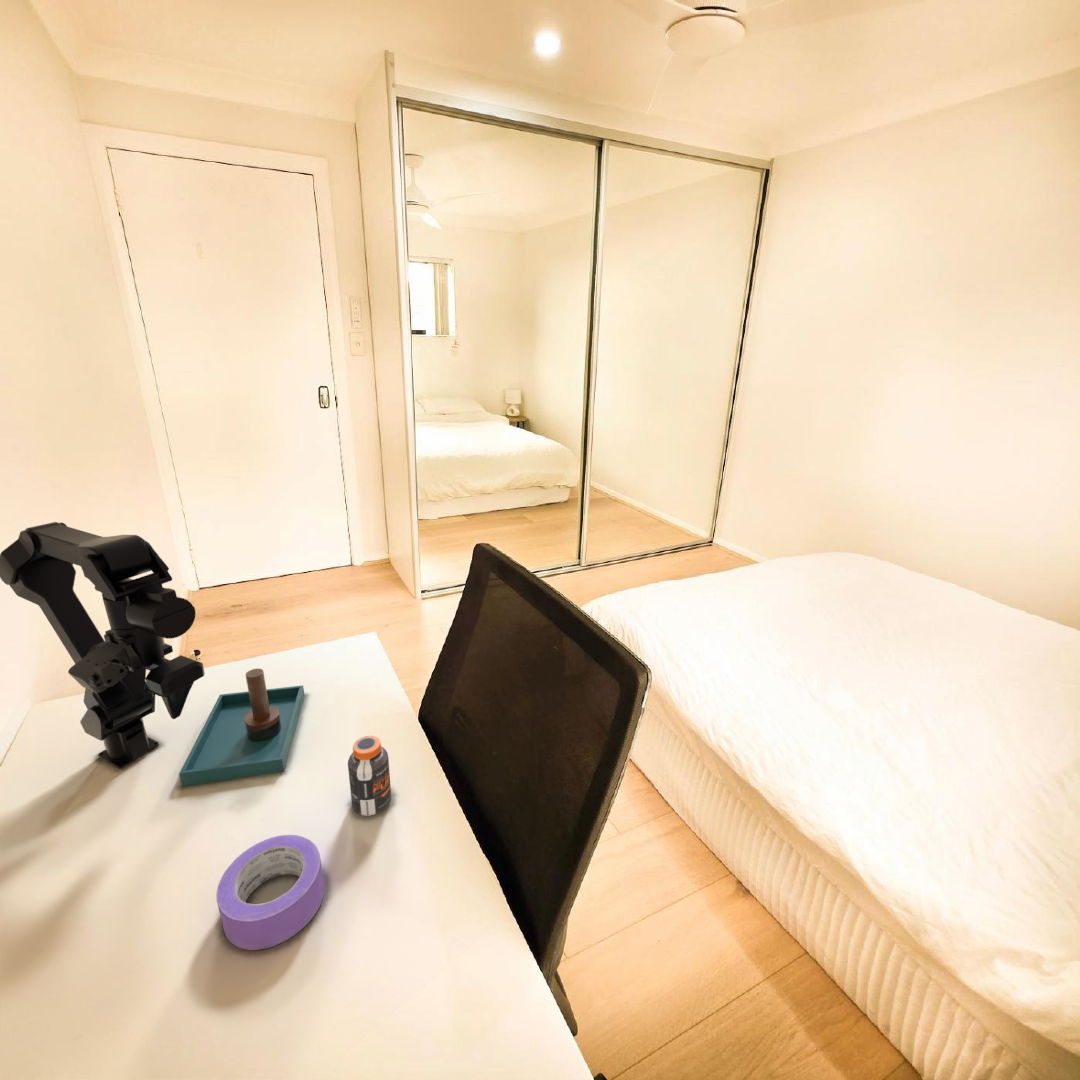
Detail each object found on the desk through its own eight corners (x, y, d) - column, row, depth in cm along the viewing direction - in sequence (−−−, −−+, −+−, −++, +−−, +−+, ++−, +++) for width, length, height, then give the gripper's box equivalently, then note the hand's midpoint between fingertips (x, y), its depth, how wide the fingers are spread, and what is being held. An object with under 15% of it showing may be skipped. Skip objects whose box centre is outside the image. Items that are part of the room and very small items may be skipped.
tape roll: (212, 897, 68) (205, 869, 67) (305, 845, 76) (301, 818, 74) (238, 973, 60) (231, 943, 59) (339, 906, 68) (335, 878, 66)
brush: (249, 745, 94) (238, 685, 89) (245, 727, 98) (234, 669, 94) (283, 734, 96) (274, 676, 92) (278, 717, 101) (269, 660, 97)
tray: (284, 771, 89) (282, 759, 88) (182, 786, 85) (178, 773, 84) (304, 695, 108) (303, 685, 107) (222, 705, 105) (219, 694, 104)
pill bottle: (380, 820, 80) (374, 760, 76) (344, 813, 81) (337, 754, 78) (398, 790, 86) (393, 733, 82) (364, 784, 87) (358, 727, 83)
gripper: (32, 630, 75) (62, 721, 80) (112, 663, 68) (139, 761, 73) (119, 599, 84) (141, 683, 89) (196, 625, 77) (215, 714, 82)
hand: (157, 709), depth 83 cm, fingers open, 9 cm apart
